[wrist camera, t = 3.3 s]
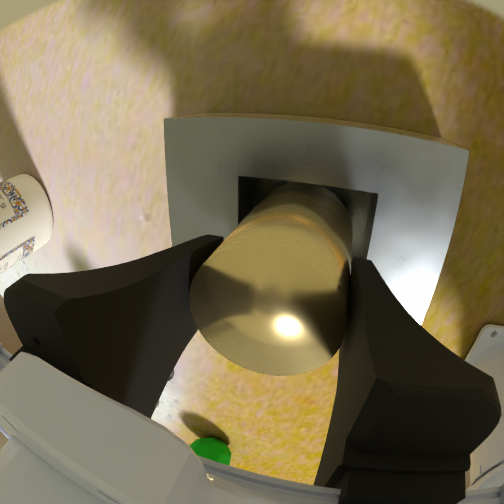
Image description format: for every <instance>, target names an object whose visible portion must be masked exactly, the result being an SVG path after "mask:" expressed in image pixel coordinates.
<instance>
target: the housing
mask: <svg viewBox="0 0 504 504" xmlns="http://www.w3.org/2000/svg"><path fill="white" fill-rule="evenodd" d="M164 139H165V160H166V176H167V191H168V204H169V216H170V227H171V237H172V247H173V246H176V245H178V244H181V243H184V242H186V241H189V240H191V239H194V238H197V237H200V236H203V235H208V234H210V235H216V236H223V237H224V240H225V239H226V238H227V237H228V236H229V235H230V234H231V232H232V231H233V230H234V229H235V228H236V227H237V226H238V225H239V224H240V223H241V221H242V220H243V219H244V218H245V217H246V216H247V215H248V214H249V213H250V212H251V211H252V209H253V208H254V207H255V206H256V205H257V204H258V203H259V202H260V201H261V200H262V199H263V198H264V196H265V195H267V194H268V193H269V192H270V191H271V190H273V189H274V188H276V187H278V186H280V185H283V184H285V183H290V182H302V183H310V184H317V185H320V186H322V187H324V188H326V189H328V190H329V191H331V192H332V193H334V194H335V195H336V196H337V197H338V198H339V199H340V200H341V201H342V202H343V204H344V205H345V207H346V208H347V210H348V212H349V215H350V218H351V221H352V227H353V239H352V259H351V270H352V265H353V260H354V257H355V258H361V259H368V260H372V262H373V264H374V265H375V267H376V268H377V270H378V271H379V273H380V275H381V276H382V278H383V279H384V281H385V283H386V284H387V285H388V287H389V288H390V290H391V291H392V293H393V294H394V295H395V297H396V298H397V299H398V300H399V302H400V303H401V304H402V305H403V307H404V308H405V309H406V310H407V311H408V313H409V314H410V315H411V316H412V317H413V318H414V319H415V320H416V321H417V322H418V323H419V324H420V325H421V324H422V321H423V319H424V316H425V314H426V311H427V309H428V306H429V304H430V301H431V298H432V296H433V293H434V290H435V287H436V284H437V281H438V278H439V275H440V272H441V269H442V266H443V263H444V260H445V257H446V253H447V250H448V247H449V243H450V240H451V236H452V232H453V229H454V225H455V221H456V217H457V213H458V208H459V204H460V200H461V195H462V190H463V185H464V180H465V175H466V169H467V163H468V157H469V150H467V149H465V148H463V147H461V146H459V145H457V144H454V143H452V142H450V141H448V140H445V139H443V138H440V137H436V136H432V135H427V134H423V133H418V132H413V131H408V130H403V129H398V128H392V127H386V126H381V125H374V124H368V123H361V122H354V121H347V120H339V119H330V118H321V117H311V116H299V115H285V114H268V113H237V112H205V113H197V114H190V115H183V116H177V117H171V118H165V119H164ZM339 348H340V347H339Z"/></svg>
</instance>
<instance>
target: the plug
mask: <svg viewBox="0 0 504 504" xmlns="http://www.w3.org/2000/svg"><path fill="white" fill-rule="evenodd" d="M352 239H353V227H352V221H351V218H350V215H349V212H348V210H347V208H346V207H345V205H344V204H343V202H342V201H341V200H340V199H339V198H338V197H337V196H336V195H335V194H334V193H332V192H331V191H329V190H328V189H326V188H324V187H322V186H320V185H317V184H310V183H302V182H290V183H285V184H283V185H280V186H278V187H276V188H274V189H273V190H271V191H270V192H269V193H268V194H267V195H265V196H264V198H263V199H262V200H261V201H260V202H259V203H258V204H257V205H256V206H255V207H254V208H253V209H252V211H251V212H250V213H249V214H248V215H247V216H246V217H245V218H244V219H243V220H242V221H241V223H240V224H239V225H238V226H237V227H236V228H235V229H234V230H233V231H232V232H231V234H230V235H229V236H228V237H227V238H226V239H225V240H224V241H223V242H222V244H221V245H220V246H219V247H218V248H217V249H216V250H215V251H214V252H213V254H212V255H211V256H210V257H209V258H208V259H207V260H206V261H205V262H204V264H203V265H202V266H201V267H200V268H199V270H198V271H197V273H196V274H195V276H194V278H193V280H192V284H191V287H190V294H189V302H190V309H191V313H192V316H193V319H194V322H195V324H196V326H197V328H198V329H199V331H200V333H201V334H202V335H203V337H204V338H205V339H206V341H207V342H208V343H209V344H210V345H211V346H212V347H213V348H214V349H215V350H216V351H217V352H219V353H220V354H221V355H223V356H224V357H225V358H227V359H228V360H230V361H232V362H233V363H235V364H237V365H239V366H241V367H243V368H246V369H249V370H251V371H255V372H258V373H262V374H268V375H277V376H289V375H297V374H302V373H306V372H309V371H312V370H314V369H316V368H318V367H320V366H322V365H323V364H325V363H326V362H327V361H328V360H330V359H331V358H332V357H333V356H334V355H335V353H336V352H337V351H338V349H339V347H340V346H341V344H342V341H343V339H344V336H345V330H346V322H347V312H348V301H349V289H350V275H351V259H352Z"/></svg>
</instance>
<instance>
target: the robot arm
mask: <svg viewBox="0 0 504 504" xmlns="http://www.w3.org/2000/svg"><path fill="white" fill-rule="evenodd" d="M223 241H224V237H223V236H216V235H210V234H208V235H203V236H200V237H197V238H194V239H191V240H189V241H186V242H184V243H181V244H178V245H176V246H173V247H171V248H168V249H165V250H163V251H160V252H157V253H154V254H151V255H149V256H146V257H143V258H140V259H137V260H133V261H130V262H126V263H122V264H118V265H114V266H109V267H104V268H99V269H93V270H87V271H80V272H70V273H56V274H27V275H25V276H23V277H22V278H20V279H19V280H17V281H16V282H15V283H13V284H12V285H11V286H9V287H8V288H7V289H6V290H5V292H4V304H5V308H6V311H7V313H8V316H9V318H10V320H11V322H12V325H13V327H14V329H15V331H16V333H17V335H18V337H19V339H20V341H21V343H22V344H23V346H22V347H21V348H20V349H19V350H18V351H17V352H16V353H15V354H14V355H12V354H10V353H9V352H8V351H7V350H5V349H4V348H3V347H2V344H1V342H0V431H1V432H2V433H3V434H4V435H5V436H6V437H7V438H8V439H9V441H8V442H7V443H6V444H5V446H4V447H3V448H2V449H1V450H0V504H504V326H500V325H492V324H488V325H485V326H484V327H483V328H482V329H481V331H480V333H479V335H478V337H477V339H476V341H475V342H474V344H473V346H472V348H471V350H470V352H469V353H468V355H467V357H466V359H465V360H463V359H462V358H460V357H459V356H457V355H456V354H454V353H453V352H452V351H450V350H449V349H448V348H446V347H445V346H444V345H442V344H441V343H440V342H439V341H438V340H436V339H435V338H434V337H433V336H432V335H431V334H429V333H428V332H427V331H426V330H425V329H424V328H423V327H422V326H421V325H420V324H419V323H418V322H417V321H416V320H415V319H414V318H413V317H412V316H411V315H410V314H409V313H408V311H407V310H406V309H405V308H404V307H403V305H402V304H401V303H400V302H399V300H398V299H397V298H396V297H395V295H394V294H393V293H392V291H391V290H390V288H389V287H388V285H387V284H386V283H385V281H384V279H383V278H382V276H381V275H380V273H379V271H378V270H377V268H376V267H375V265H374V264H373V262H372V260H368V259H361V258H355V257H354V260H353V265H352V270H351V275H350V289H349V301H348V312H347V322H346V330H345V336H344V339H343V341H342V344H341V346H340V348H339V368H338V382H337V390H336V396H335V401H334V406H333V411H332V416H331V421H330V425H329V429H328V434H327V438H326V442H325V446H324V450H323V454H322V457H321V461H320V465H319V468H318V472H317V475H316V478H315V482H314V485H308V484H303V483H297V482H292V481H287V480H283V479H278V478H274V477H269V476H265V475H261V474H257V473H253V472H249V471H246V470H242V469H239V468H235V467H232V466H228V465H225V464H222V463H219V462H216V461H213V460H210V459H207V458H204V457H201V456H198V455H196V453H195V452H194V451H193V450H192V448H191V447H190V446H189V445H188V444H187V443H186V442H184V441H183V440H182V439H180V438H179V437H177V436H176V435H175V434H173V433H172V432H171V431H170V430H168V429H167V428H166V427H164V426H163V425H161V424H159V423H157V422H155V421H153V420H151V417H152V414H153V412H154V410H155V407H156V405H157V403H158V401H159V398H160V396H161V394H162V392H163V389H164V387H165V385H166V383H167V381H168V379H169V377H170V375H171V373H172V371H173V369H174V367H175V365H176V363H177V361H178V360H179V358H180V356H181V354H182V352H183V351H184V349H185V348H186V346H187V344H188V343H189V342H190V340H191V339H192V337H193V336H194V334H195V333H196V332H197V330H198V328H197V326H196V324H195V322H194V319H193V316H192V313H191V309H190V302H189V294H190V287H191V284H192V280H193V278H194V276H195V274H196V273H197V271H198V270H199V268H200V267H201V266H202V265H203V264H204V262H205V261H206V260H207V259H208V258H209V257H210V256H211V255H212V254H213V252H214V251H215V250H216V249H217V248H218V247H219V246H220V245H221V244H222V242H223ZM494 331H495V332H494ZM492 332H494V333H492ZM469 469H470V480H471V487H469V488H468V489H466V490H465V471H467V470H469Z"/></svg>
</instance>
